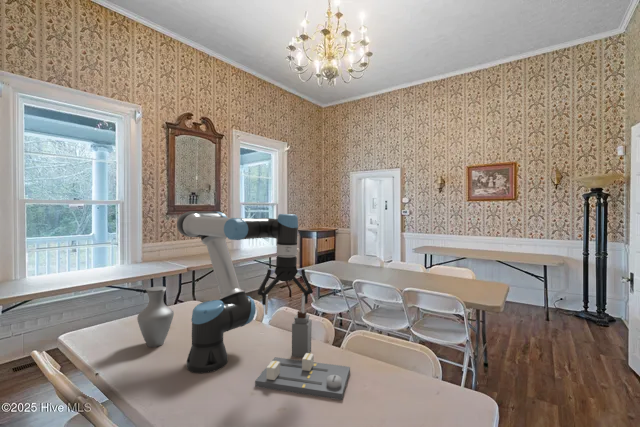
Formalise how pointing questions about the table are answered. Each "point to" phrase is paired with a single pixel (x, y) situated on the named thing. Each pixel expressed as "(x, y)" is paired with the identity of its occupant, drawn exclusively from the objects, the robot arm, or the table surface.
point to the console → (307, 379)
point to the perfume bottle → (301, 334)
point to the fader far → (307, 361)
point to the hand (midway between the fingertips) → (284, 312)
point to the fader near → (273, 370)
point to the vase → (155, 318)
